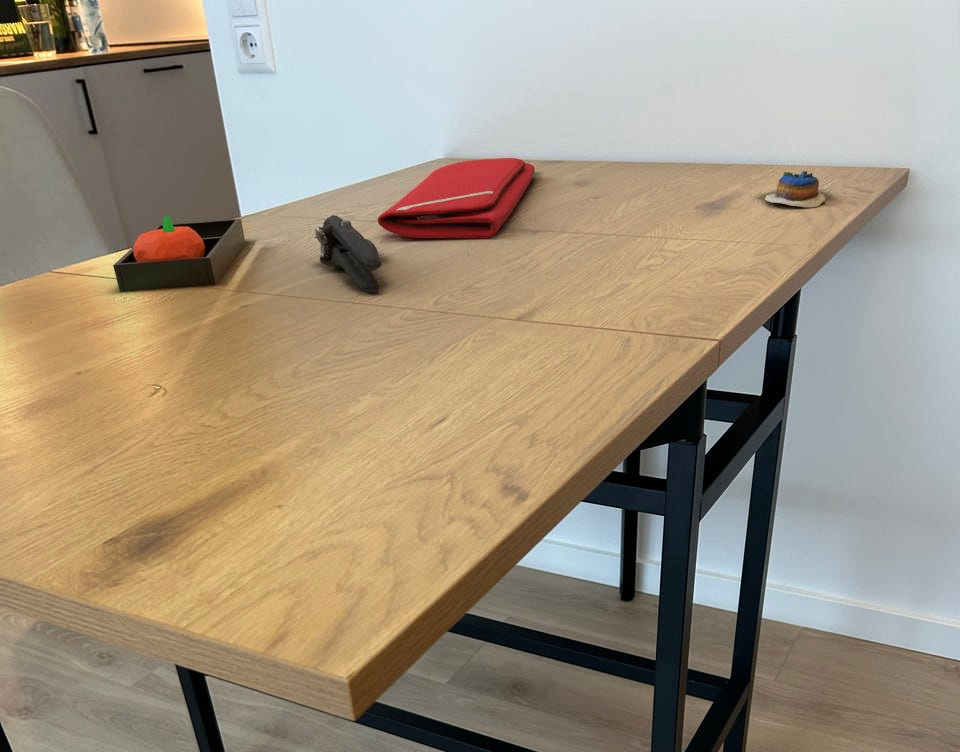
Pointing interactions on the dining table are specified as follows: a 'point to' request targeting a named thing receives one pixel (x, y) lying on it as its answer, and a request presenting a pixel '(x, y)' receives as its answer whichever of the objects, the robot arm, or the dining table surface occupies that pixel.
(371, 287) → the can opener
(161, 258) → the pumpkin
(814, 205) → the dessert
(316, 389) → the dining table surface
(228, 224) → the tray
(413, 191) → the red felt clutch
